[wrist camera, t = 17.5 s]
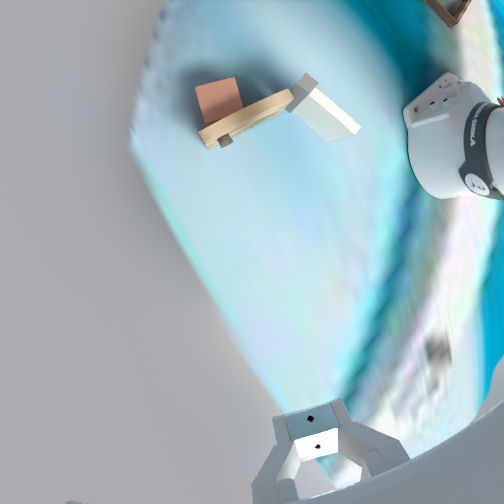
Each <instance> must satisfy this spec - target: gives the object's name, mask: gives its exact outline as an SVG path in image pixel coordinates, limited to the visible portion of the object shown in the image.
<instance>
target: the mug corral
mask: <svg viewBox="0 0 504 504" xmlns="http://www.w3.org/2000/svg"><path fill="white" fill-rule="evenodd" d="M423 1H424V2H425V3H426V4H427V5H428V6H429V7H430V8H431V9H432V10H433V11H434V12H435V13H436V14H437V15H438V16H439V17H440V18H441V19H442V20H443V21H444V22H445V23H446V24H447V25H448V26H449V27H450V28H451V27H452V26H454V25H456V24H458V22H459V21H460V19H461V17H462V16H463V14H464V12H465V11H466V9H467V7H468V6H469V4H470V2H471V0H463V3H462V4H461V6H460V7H459V9H458V10H457V12H456V14H455V15H454V17H453V16H452V15H451V14H450V13H449V12H448V11H447V10H446V9H445V8H444V7H443V6H442V5H441V4H440V3H439V2H438V1H437V0H423Z"/></svg>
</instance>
